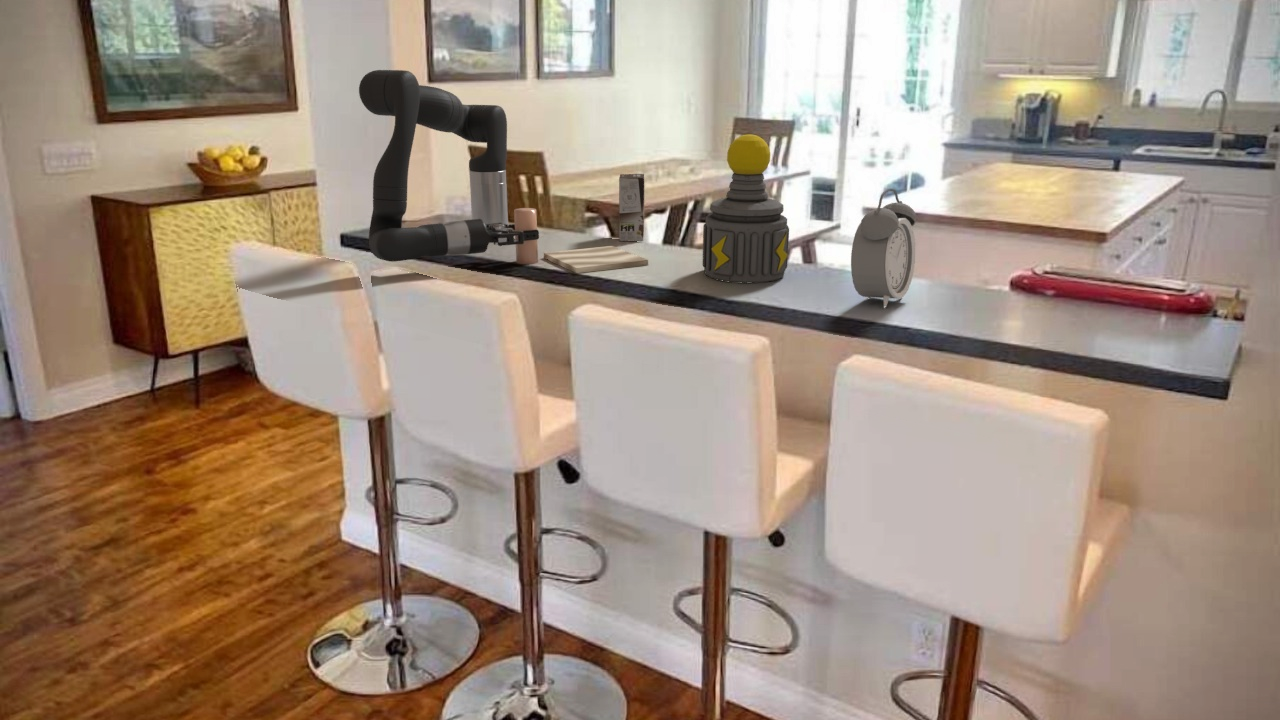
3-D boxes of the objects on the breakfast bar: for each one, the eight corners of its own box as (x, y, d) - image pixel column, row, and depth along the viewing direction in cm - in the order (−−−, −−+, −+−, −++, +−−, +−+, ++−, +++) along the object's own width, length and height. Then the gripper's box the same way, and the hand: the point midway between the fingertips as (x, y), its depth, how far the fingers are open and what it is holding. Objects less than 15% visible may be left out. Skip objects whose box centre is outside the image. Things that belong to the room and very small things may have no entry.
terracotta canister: (513, 260, 221) (510, 209, 217) (533, 258, 223) (531, 207, 220) (521, 265, 217) (519, 212, 213) (541, 262, 219) (539, 210, 215)
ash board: (543, 257, 224) (543, 252, 224) (611, 250, 233) (611, 245, 232) (576, 273, 209) (576, 267, 209) (648, 264, 218) (648, 259, 217)
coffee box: (643, 241, 244) (644, 177, 239) (618, 241, 244) (618, 177, 239) (644, 234, 252) (644, 173, 247) (620, 234, 252) (620, 173, 247)
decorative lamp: (803, 273, 210) (811, 133, 201) (757, 289, 196) (763, 140, 187) (732, 261, 222) (737, 128, 212) (683, 275, 208) (686, 134, 198)
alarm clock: (886, 314, 178) (897, 196, 171) (842, 307, 183) (851, 192, 176) (915, 296, 191) (926, 185, 184) (874, 290, 196) (882, 182, 189)
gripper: (472, 225, 204) (542, 219, 212) (451, 215, 216) (518, 210, 223) (474, 260, 206) (543, 253, 214) (453, 248, 218) (519, 242, 226)
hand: (530, 231), depth 219 cm, fingers open, 8 cm apart
